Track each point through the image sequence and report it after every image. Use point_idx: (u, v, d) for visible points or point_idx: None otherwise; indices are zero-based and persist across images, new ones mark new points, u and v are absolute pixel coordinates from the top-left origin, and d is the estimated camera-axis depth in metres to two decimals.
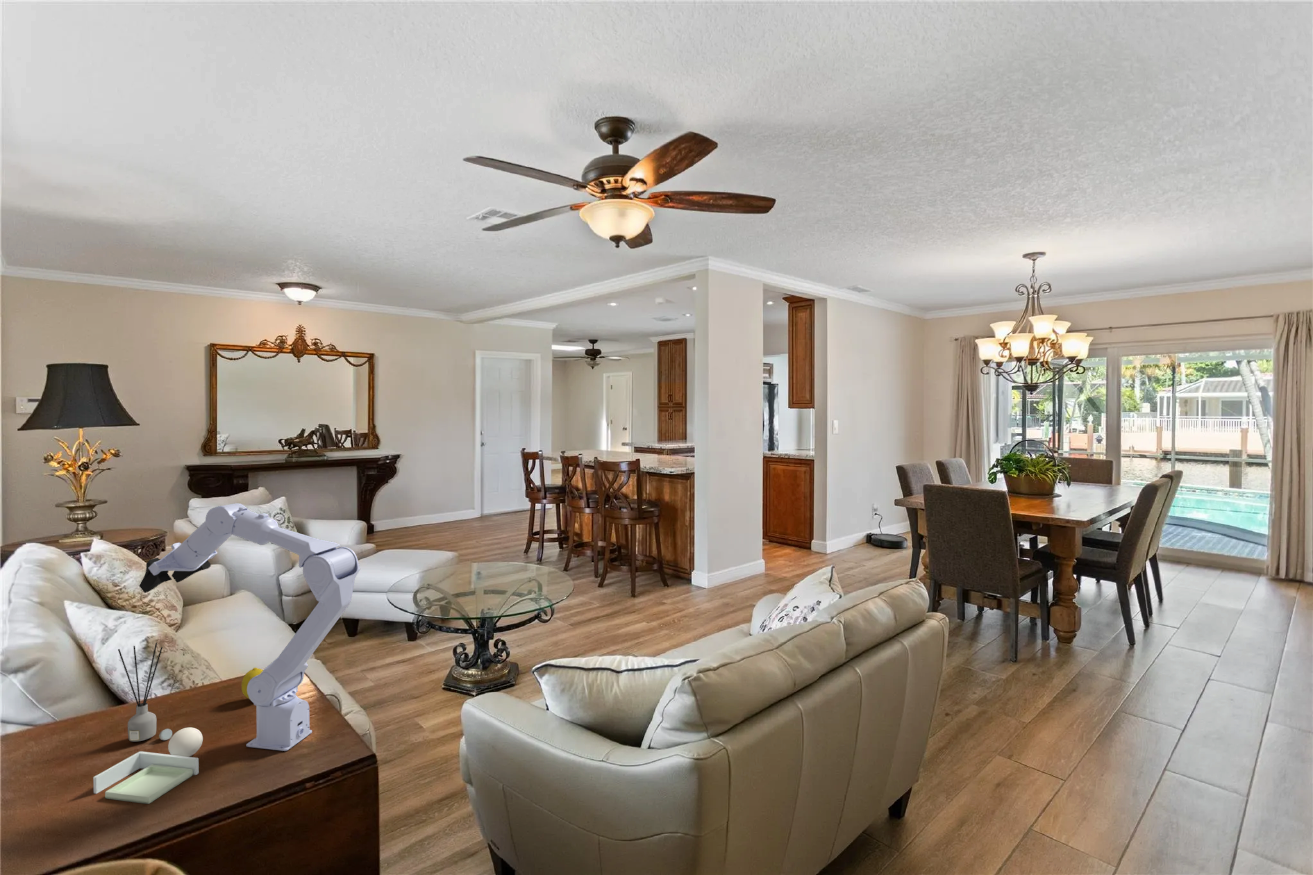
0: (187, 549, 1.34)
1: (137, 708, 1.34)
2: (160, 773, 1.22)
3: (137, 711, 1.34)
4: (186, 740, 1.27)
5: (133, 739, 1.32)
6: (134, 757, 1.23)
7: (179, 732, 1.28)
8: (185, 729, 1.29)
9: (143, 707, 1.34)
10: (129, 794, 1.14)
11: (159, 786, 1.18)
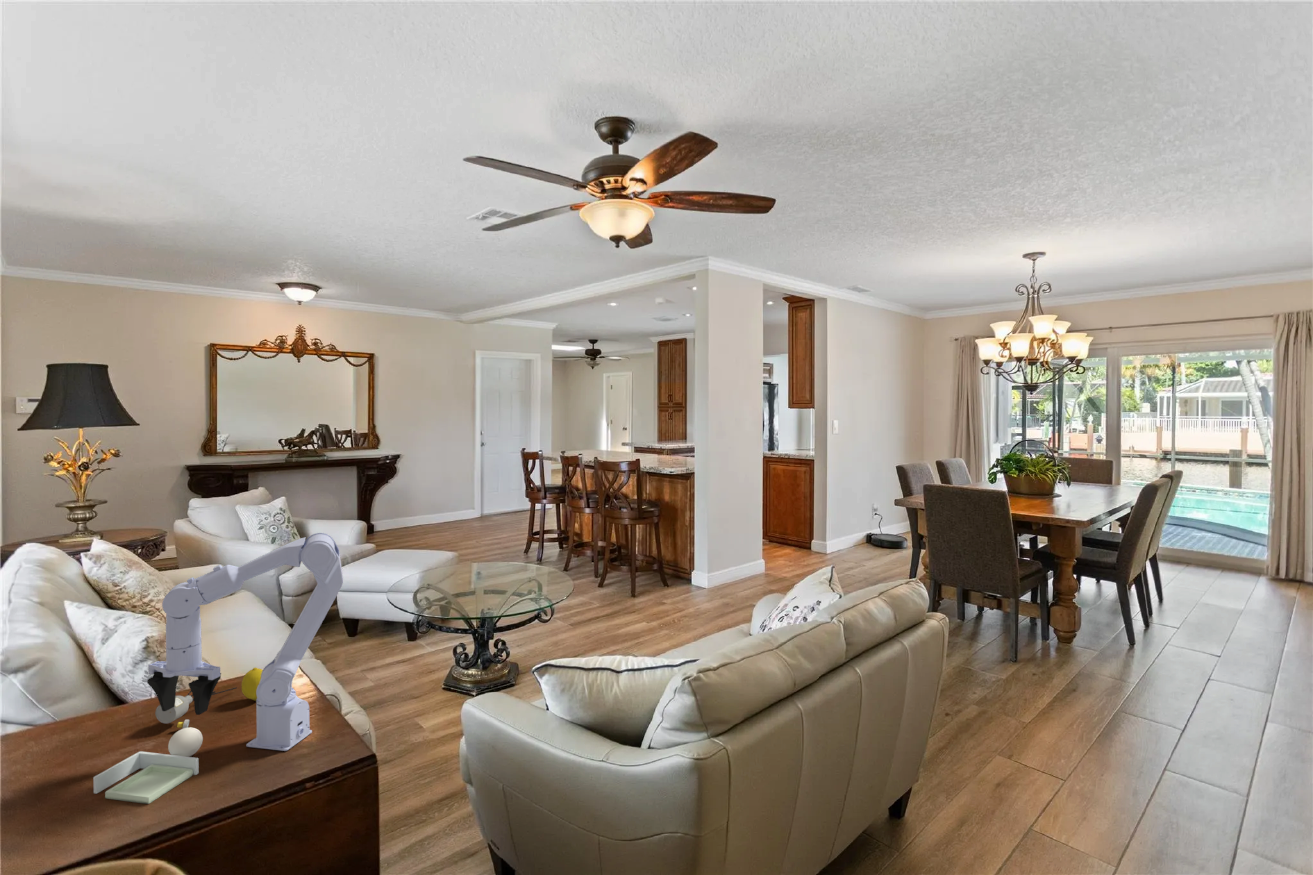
0: (196, 648, 1.27)
1: (188, 696, 1.45)
2: (160, 773, 1.22)
3: (186, 697, 1.44)
4: (186, 740, 1.27)
5: None
6: (134, 757, 1.23)
7: (179, 732, 1.28)
8: (185, 729, 1.29)
9: (191, 699, 1.45)
10: (129, 794, 1.14)
11: (159, 786, 1.18)
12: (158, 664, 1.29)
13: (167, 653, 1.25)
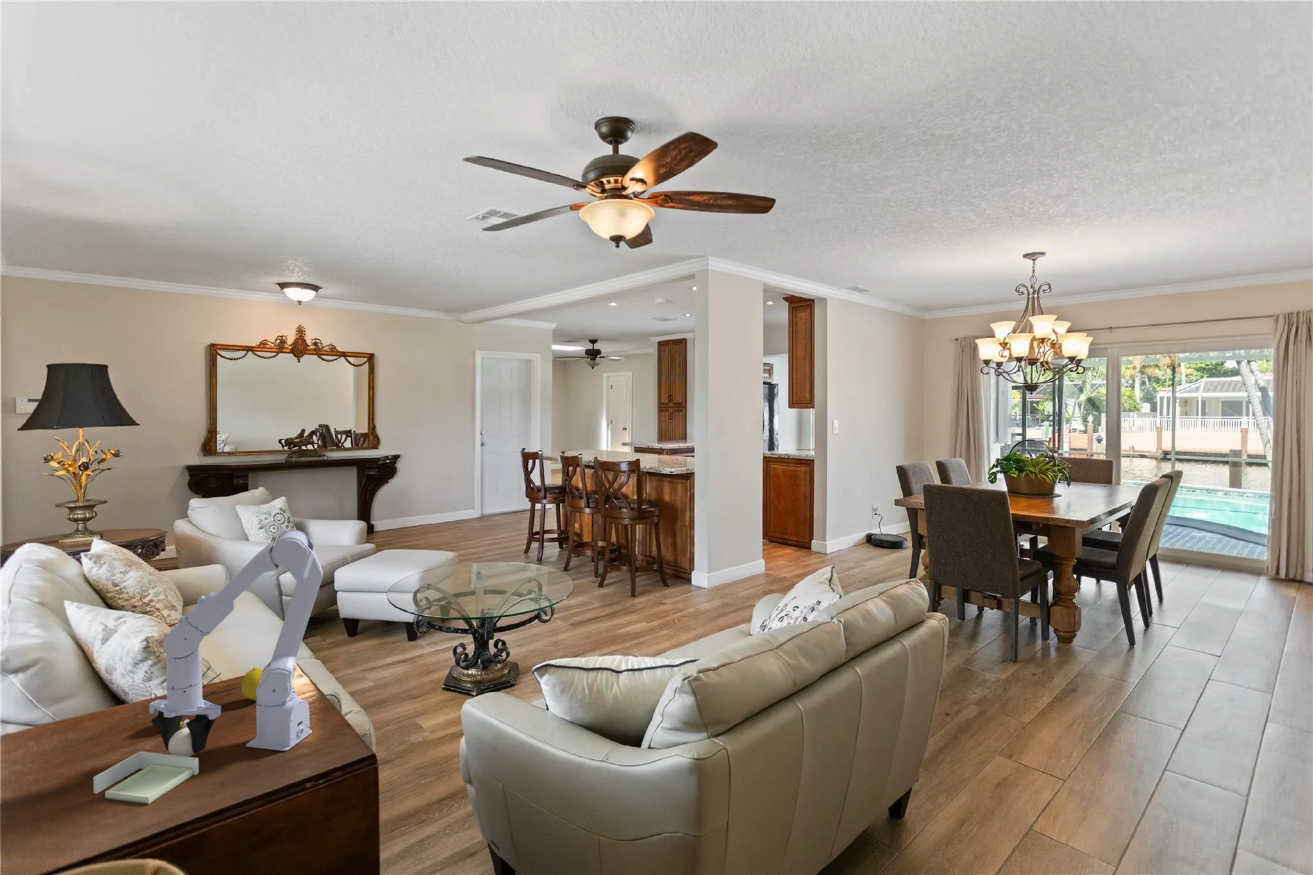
0: (197, 687, 1.28)
1: None
2: (160, 773, 1.22)
3: None
4: (186, 740, 1.27)
5: None
6: (134, 757, 1.23)
7: (179, 732, 1.28)
8: (185, 729, 1.29)
9: None
10: (129, 794, 1.14)
11: (159, 786, 1.18)
12: (159, 703, 1.29)
13: (168, 693, 1.26)
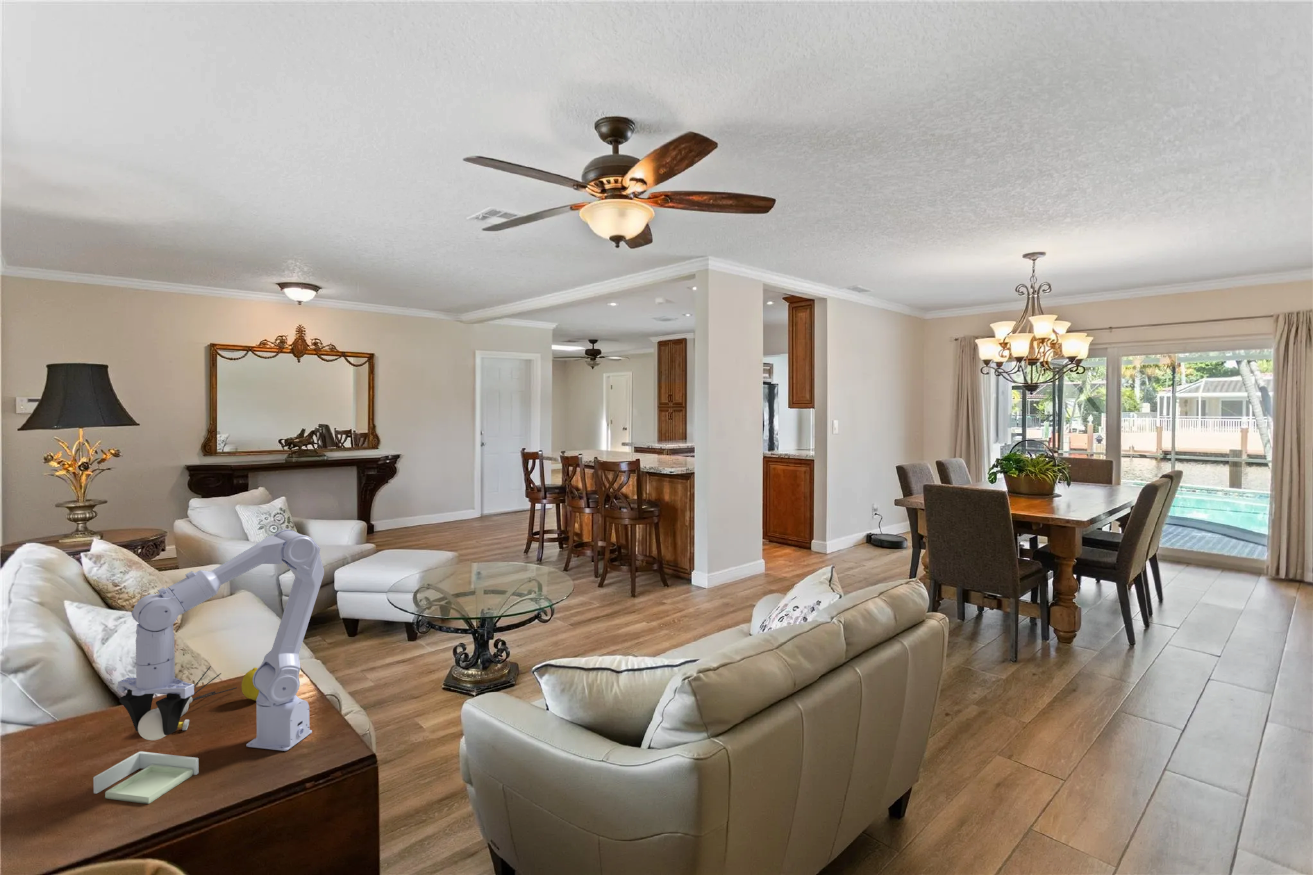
0: (169, 664, 1.19)
1: None
2: (160, 773, 1.22)
3: None
4: (157, 721, 1.18)
5: None
6: (134, 757, 1.23)
7: (150, 712, 1.19)
8: (157, 709, 1.20)
9: (191, 699, 1.45)
10: (129, 794, 1.14)
11: (159, 786, 1.18)
12: (128, 681, 1.21)
13: (137, 669, 1.17)
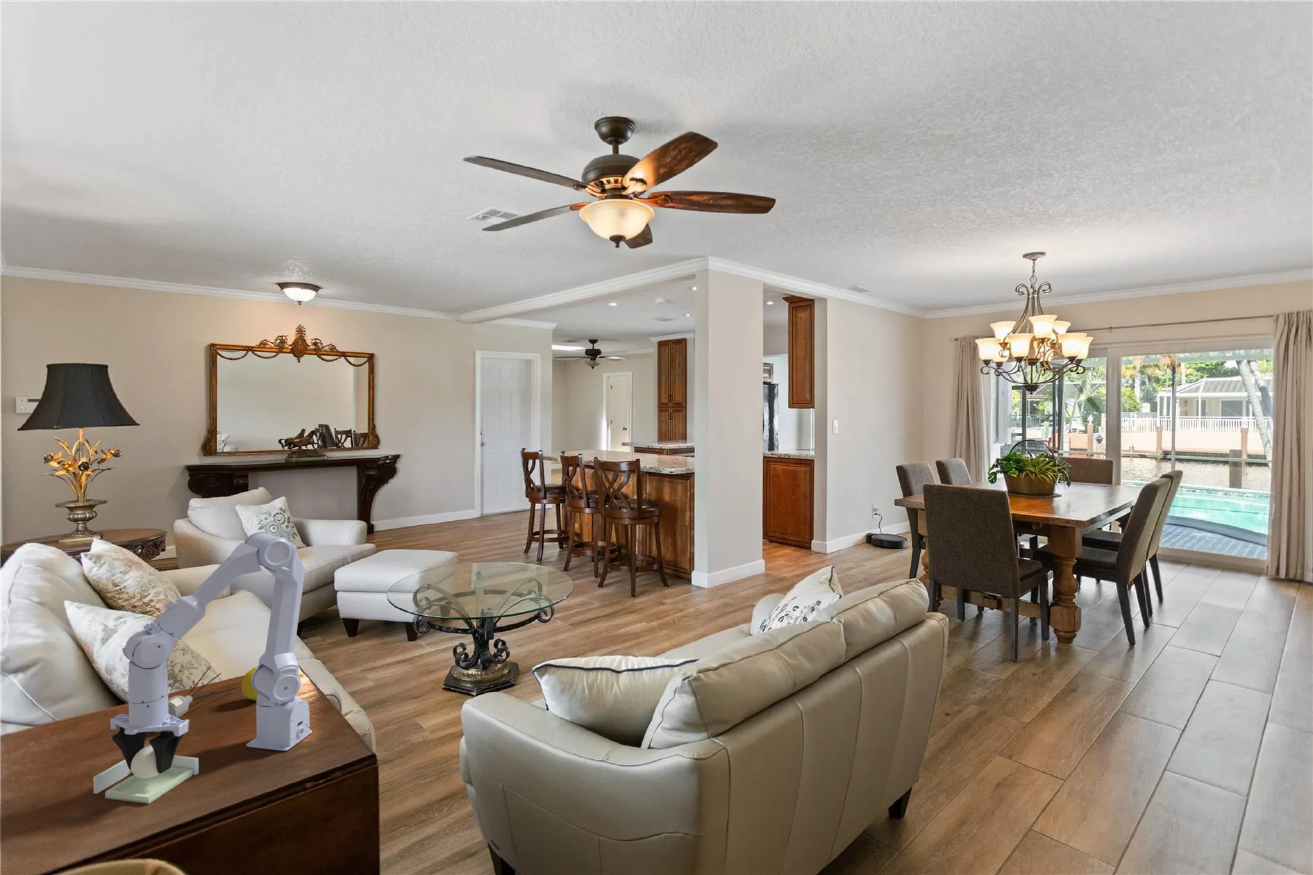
0: (162, 701, 1.18)
1: (188, 696, 1.45)
2: (160, 773, 1.22)
3: (186, 697, 1.44)
4: (151, 759, 1.17)
5: (173, 703, 1.39)
6: None
7: (143, 750, 1.17)
8: (150, 747, 1.18)
9: (191, 699, 1.45)
10: (129, 794, 1.14)
11: (159, 786, 1.18)
12: (121, 718, 1.19)
13: (130, 707, 1.15)
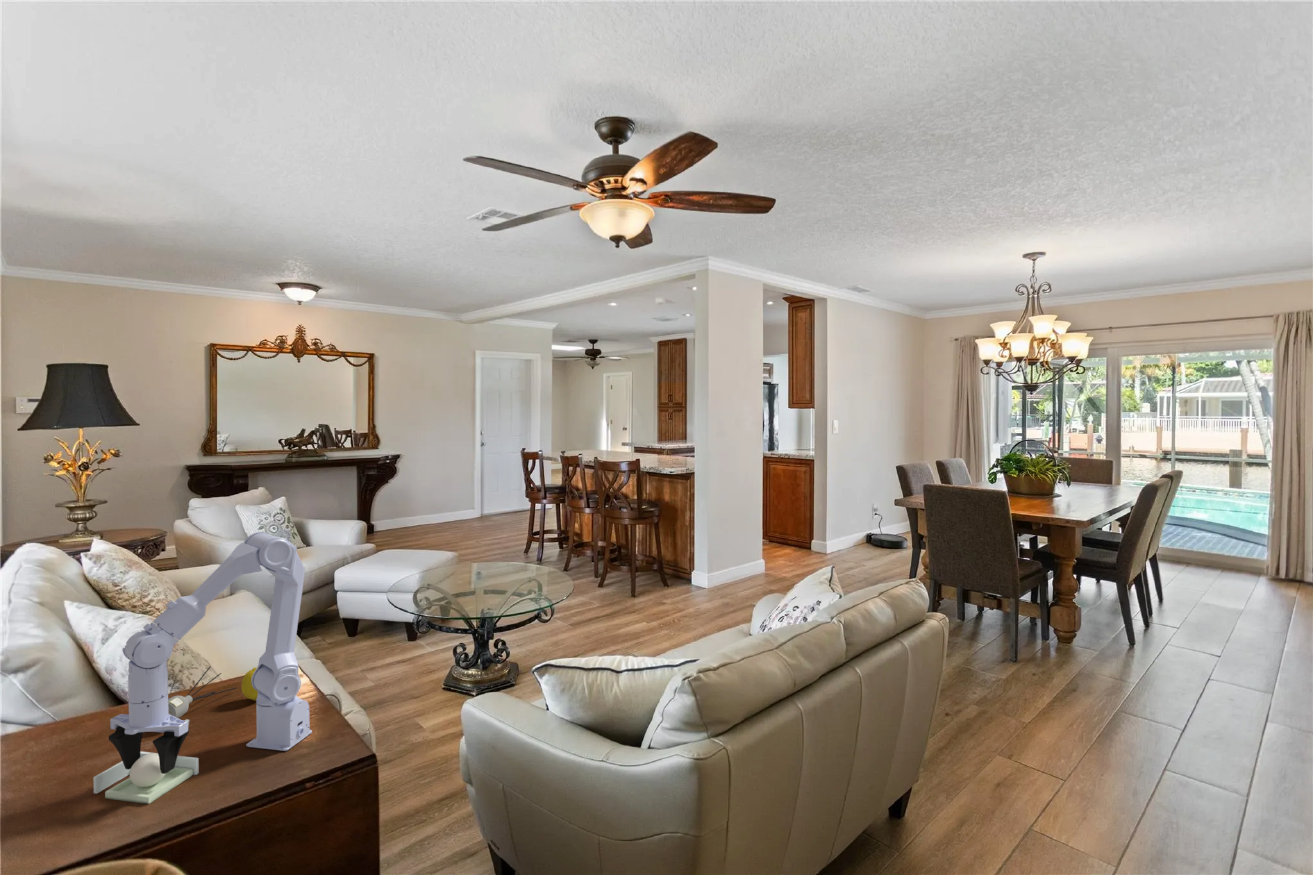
0: (162, 701, 1.18)
1: (188, 696, 1.45)
2: None
3: (186, 697, 1.44)
4: (149, 766, 1.17)
5: (173, 703, 1.39)
6: None
7: (141, 759, 1.18)
8: (147, 755, 1.18)
9: (191, 699, 1.45)
10: (129, 794, 1.14)
11: (159, 786, 1.18)
12: (121, 718, 1.19)
13: (130, 707, 1.15)
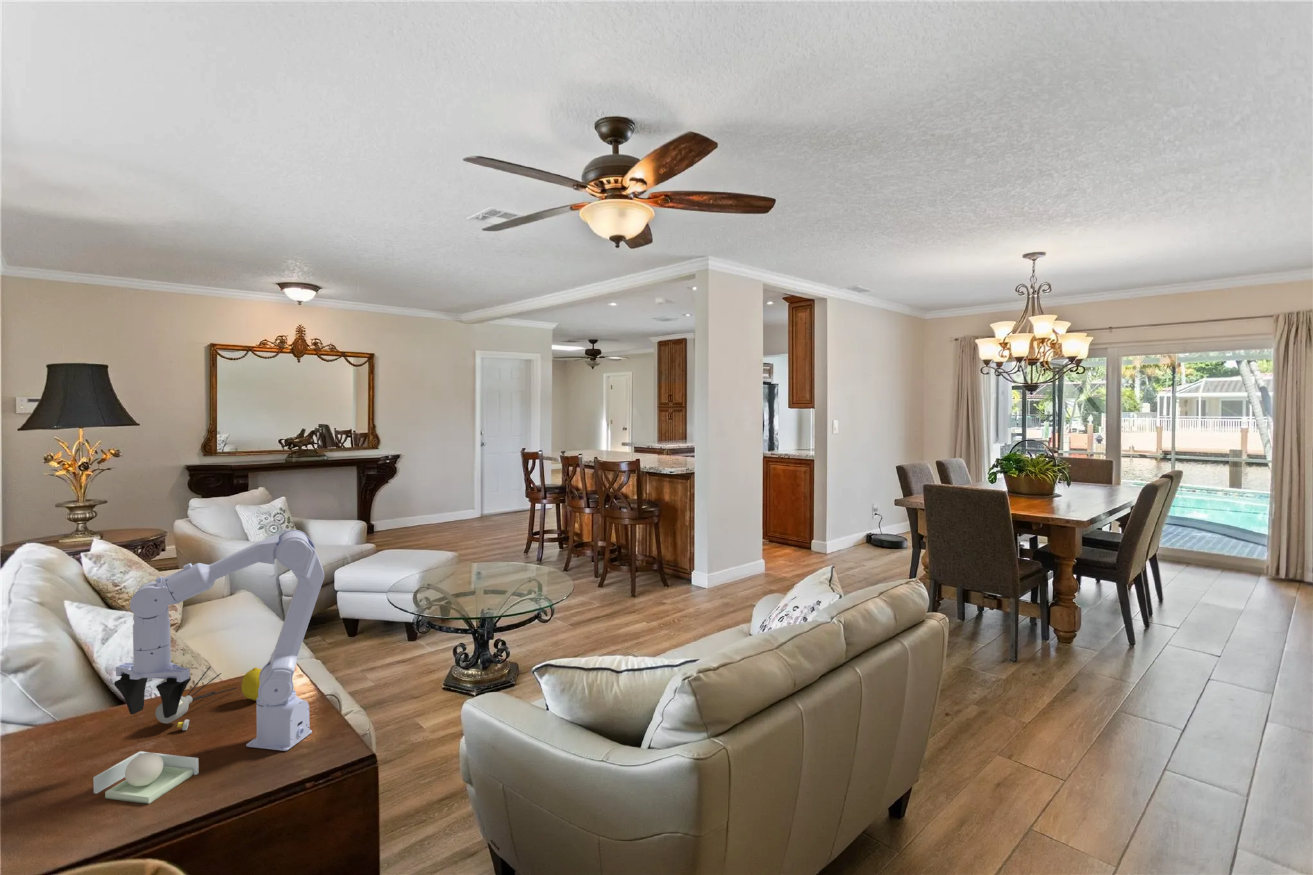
0: (165, 649, 1.24)
1: (188, 696, 1.45)
2: None
3: (186, 697, 1.44)
4: (141, 763, 1.17)
5: None
6: (134, 757, 1.23)
7: (132, 760, 1.18)
8: (138, 755, 1.19)
9: (191, 699, 1.45)
10: (129, 794, 1.14)
11: (159, 786, 1.18)
12: (126, 666, 1.25)
13: (134, 654, 1.22)
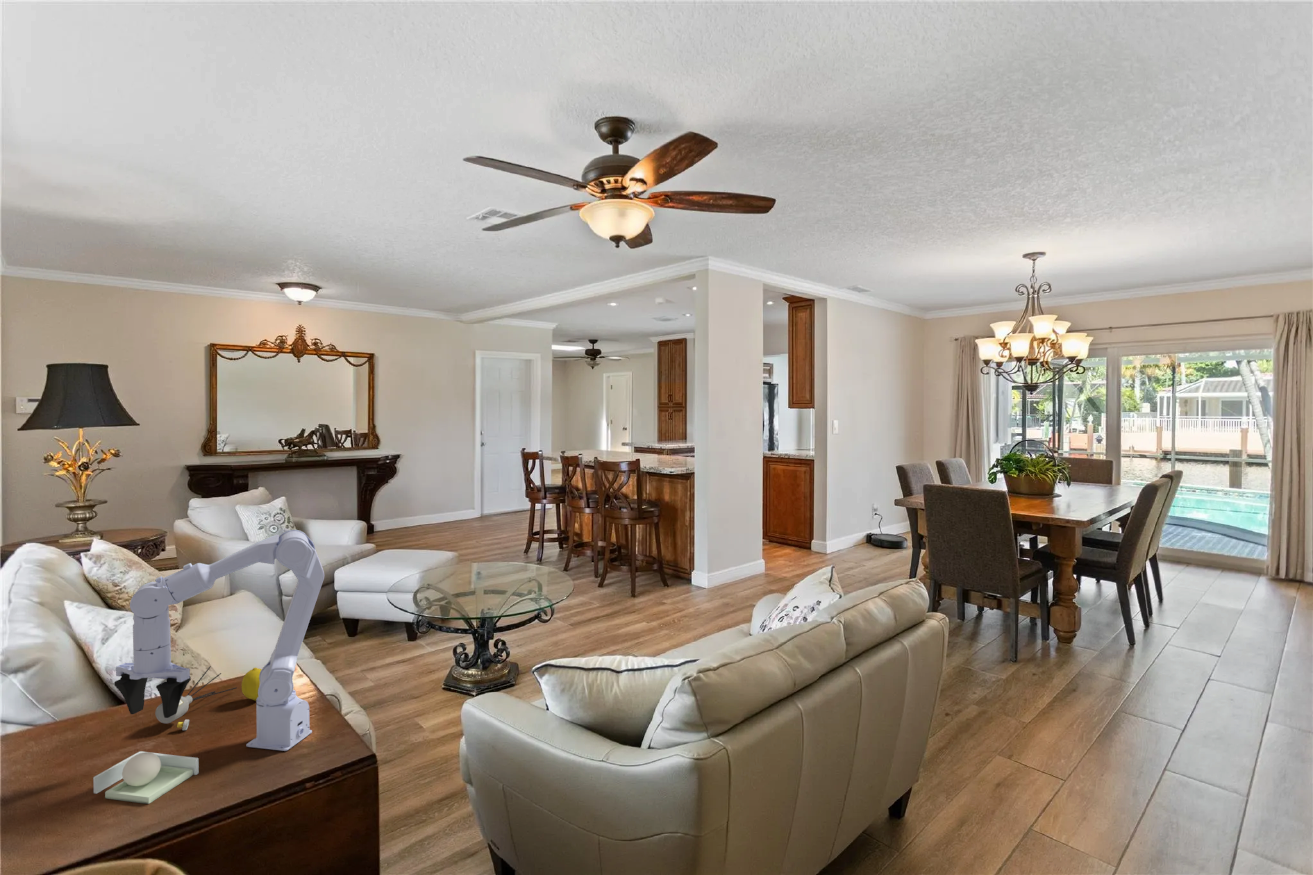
0: (165, 649, 1.24)
1: (188, 696, 1.45)
2: (160, 773, 1.22)
3: (186, 697, 1.44)
4: (136, 762, 1.17)
5: None
6: None
7: None
8: None
9: (191, 699, 1.45)
10: (129, 794, 1.14)
11: (159, 786, 1.18)
12: (126, 666, 1.25)
13: (134, 654, 1.22)
